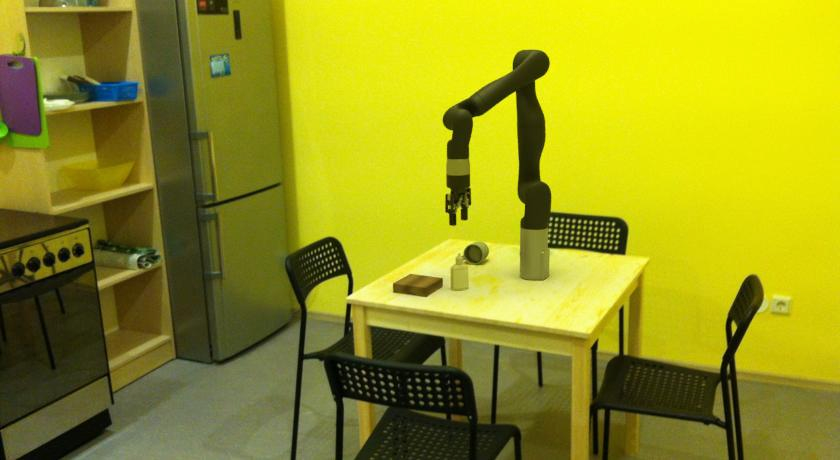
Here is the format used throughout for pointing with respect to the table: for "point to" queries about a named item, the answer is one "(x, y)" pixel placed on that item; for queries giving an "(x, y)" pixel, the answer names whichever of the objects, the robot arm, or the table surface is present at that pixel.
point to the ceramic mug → (475, 253)
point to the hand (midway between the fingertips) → (458, 222)
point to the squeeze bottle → (459, 275)
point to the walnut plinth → (418, 285)
